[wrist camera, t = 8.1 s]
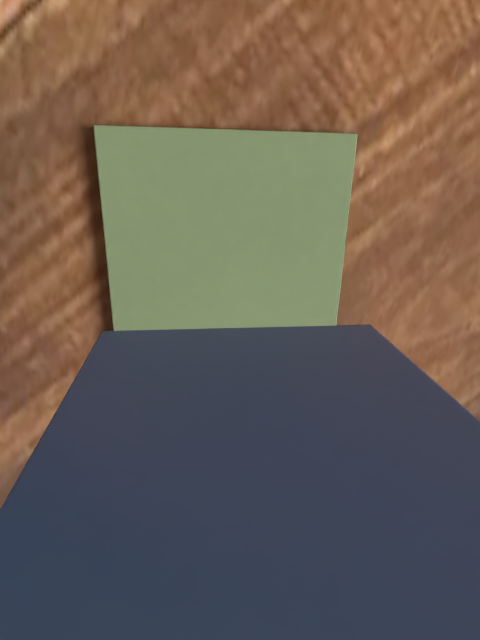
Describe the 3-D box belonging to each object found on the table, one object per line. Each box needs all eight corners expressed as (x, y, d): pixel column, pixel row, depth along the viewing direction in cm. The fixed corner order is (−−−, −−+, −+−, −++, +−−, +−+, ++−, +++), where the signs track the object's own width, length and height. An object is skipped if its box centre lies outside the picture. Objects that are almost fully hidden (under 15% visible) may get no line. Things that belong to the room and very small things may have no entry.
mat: (117, 346, 18) (114, 351, 17) (95, 126, 15) (92, 124, 14) (331, 341, 19) (334, 345, 19) (353, 134, 16) (358, 133, 15)
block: (124, 538, 9) (4, 1177, 3) (101, 329, 7) (-257, 941, 1) (342, 520, 9) (562, 1042, 4) (371, 323, 8) (863, 753, 2)
